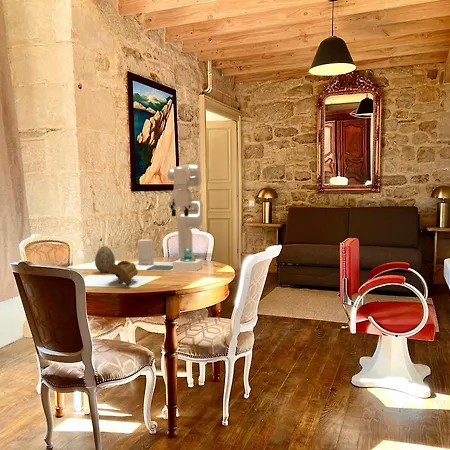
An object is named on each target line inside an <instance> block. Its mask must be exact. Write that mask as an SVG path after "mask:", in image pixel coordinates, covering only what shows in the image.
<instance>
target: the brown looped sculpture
mask: <svg viewBox="0 0 450 450" xmlns="http://www.w3.org/2000/svg"><path fill="white" fill-rule="evenodd" d="M109 269H110V272H109V273H110V275H115V277H116V278H117V279H118V281H119V284H122V283H123V284H125V285H126V286H127V287H129V286H130V285H131V284H132V280H131V279H132V278H134V277H135V276H137V274H138V273H139V271H138V269H137V265H136V264H135V263H134V262H130V261H128V260H121V261H119V262H118V263H117V264H116V263H115V264H112V263H110V264H109Z"/></svg>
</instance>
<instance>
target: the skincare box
mask: <svg viewBox="0 0 450 450" xmlns="http://www.w3.org/2000/svg"><path fill="white" fill-rule="evenodd" d="M137 252H138V257H137V258H138V265H139V266H153V264H154V242H153V239H150V238H149V239H139V240H137Z"/></svg>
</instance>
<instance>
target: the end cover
mask: <svg viewBox="0 0 450 450" xmlns="http://www.w3.org/2000/svg"><path fill="white" fill-rule="evenodd" d="M192 256H193V248H192V249H190V248H186V249H184V258H182V259H180V261H182V262H193V261H196V259H197V258H196V257H195V258H192Z"/></svg>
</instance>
